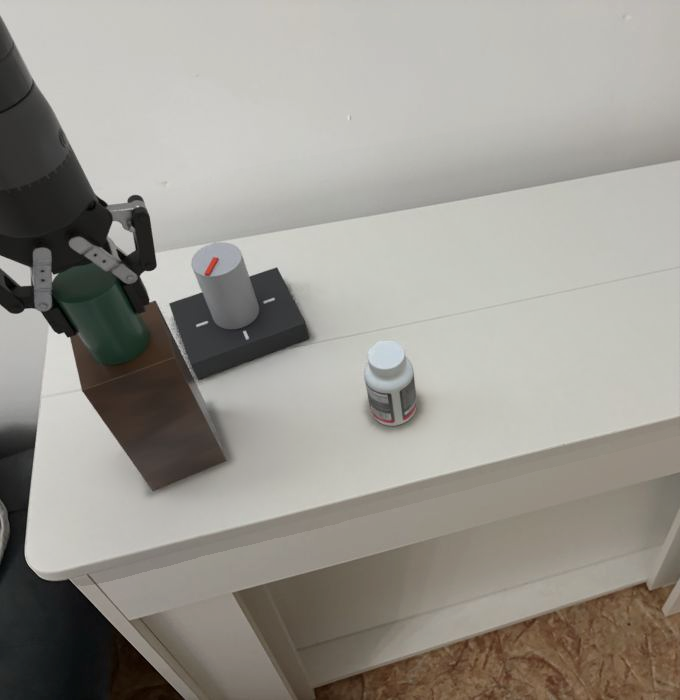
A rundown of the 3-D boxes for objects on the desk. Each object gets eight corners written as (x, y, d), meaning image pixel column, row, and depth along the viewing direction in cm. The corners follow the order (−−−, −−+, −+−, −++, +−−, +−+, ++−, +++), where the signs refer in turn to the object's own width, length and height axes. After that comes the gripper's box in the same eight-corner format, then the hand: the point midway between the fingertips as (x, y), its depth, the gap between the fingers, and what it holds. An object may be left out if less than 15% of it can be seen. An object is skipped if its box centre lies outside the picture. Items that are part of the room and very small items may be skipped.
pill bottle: (407, 383, 84) (401, 328, 77) (424, 417, 81) (419, 364, 73) (363, 398, 83) (353, 344, 75) (379, 433, 80) (370, 381, 72)
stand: (152, 491, 75) (81, 391, 61) (137, 434, 79) (67, 329, 66) (227, 460, 77) (175, 357, 63) (207, 407, 82) (155, 300, 68)
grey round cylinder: (222, 293, 89) (201, 237, 82) (265, 298, 89) (248, 242, 82) (205, 326, 86) (182, 271, 79) (250, 332, 85) (230, 276, 78)
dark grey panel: (198, 380, 84) (190, 363, 82) (176, 319, 91) (168, 302, 88) (309, 338, 89) (305, 321, 86) (281, 283, 95) (276, 266, 92)
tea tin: (95, 373, 62) (55, 311, 56) (86, 334, 65) (46, 271, 59) (155, 352, 64) (122, 290, 58) (143, 314, 67) (111, 251, 61)
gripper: (108, 100, 53) (178, 265, 66) (-108, 153, 49) (13, 318, 62) (127, 153, 49) (198, 318, 62) (-107, 216, 45) (22, 379, 58)
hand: (105, 317), depth 62 cm, fingers closed on tea tin, 5 cm apart
